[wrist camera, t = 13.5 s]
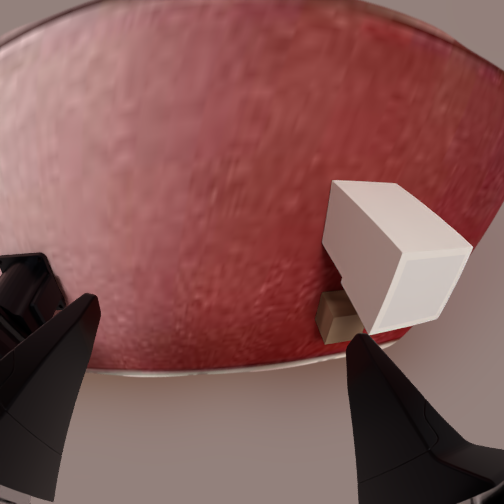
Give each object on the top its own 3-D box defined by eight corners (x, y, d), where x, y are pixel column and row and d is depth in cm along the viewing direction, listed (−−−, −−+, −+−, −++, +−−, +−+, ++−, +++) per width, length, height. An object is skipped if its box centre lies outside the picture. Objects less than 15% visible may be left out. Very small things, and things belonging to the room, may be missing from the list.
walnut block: (314, 318, 29) (324, 344, 26) (321, 291, 27) (333, 317, 24) (347, 314, 29) (359, 338, 26) (356, 287, 27) (370, 312, 24)
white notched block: (320, 248, 23) (368, 335, 16) (331, 180, 20) (402, 252, 12) (380, 244, 24) (437, 318, 16) (396, 183, 21) (473, 247, 13)
